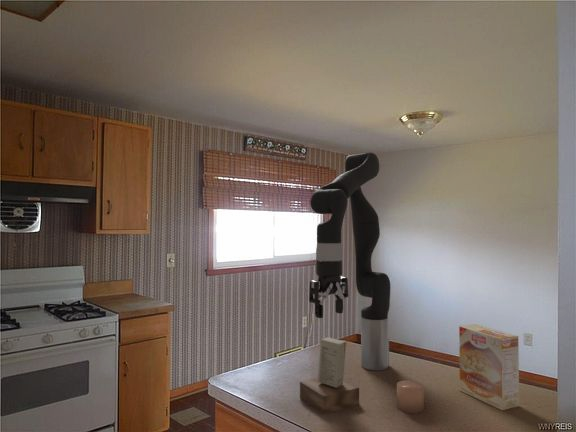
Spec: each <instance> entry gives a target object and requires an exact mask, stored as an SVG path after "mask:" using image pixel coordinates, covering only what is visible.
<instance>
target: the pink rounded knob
mask: <svg viewBox="0 0 576 432" xmlns="http://www.w3.org/2000/svg"><path fill="white" fill-rule="evenodd" d="M424 389H425V388H424V385H423V384H421V383H420V382H418V381H414V380H401V381H398V382H397V383H396V407H397V408H398V410H400V411H401V412H405V413H407V414H419V413H422V412H424V410H425V408H424V407H425V406H424V405H425V404H424V403H425V402H424V400H425V397H424V392H425V391H424Z"/></svg>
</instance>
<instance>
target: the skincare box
mask: <svg viewBox="0 0 576 432" xmlns="http://www.w3.org/2000/svg"><path fill="white" fill-rule="evenodd" d="M346 348H347V341H345V340H341V339H337V338H334V337H330V336H328V337H324V338H322V339H320V349H319V361H318V375H317V378H318V382H320V383H323V384H326V385H329V386H332V387H335V388H337V387H339V386H340V385H342V384H343V379H344V376H345V375H344V374H345V362H346V361H345V360H346V350H347V349H346Z"/></svg>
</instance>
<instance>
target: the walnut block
mask: <svg viewBox="0 0 576 432" xmlns="http://www.w3.org/2000/svg"><path fill="white" fill-rule="evenodd" d="M299 398H301V399H302V400H303V401H305V402H306V403H307V402H308V403H307V404H309V405H310V406H312V407H313V408H315V409H316V410H318V411H319V413H320V412H321V413H322V414H324V415H325V414H328V413H332V412H335V411H339V410H343V409H346V408H350V407H353V406H357V405H359V404H360V387H359V386H356V385H355V384H353V383H351V382H349V381H347V380H345V379H344V378H343V384H342V385H340V386H339V387H337V388H335V387H332V386H329V385H326V384H323V383H320V382H318V377H316V378H315V377H314V378H310V379H305V380H301V381H299Z"/></svg>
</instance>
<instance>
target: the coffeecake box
mask: <svg viewBox="0 0 576 432" xmlns="http://www.w3.org/2000/svg"><path fill="white" fill-rule="evenodd" d="M458 328H459V329H458V331H459V343H458V344H459V347H458V348H459V391H461V392H463V393H465V394H466V395H469V396H471V397H473V398H475V399H477V400H479V401H481V402H483V403H486V404H488V405H490V406H492V407H494V408H496V409H498V410H501V411H506V410H509V409H513V408H518V407H520V379H519V378H520V375H519V374H520V373H519V372H520V368H519V366H520V362H519V359H520V358H519V357H520V353H519V335H515V334H512V333H507V332H504V331H502V330H501V331H500V330H497V329H493V328H489V327H487V326H483V325H479V324H474V323H473V324H468V325H467V324H465V325H464V324H463V325H459V326H458Z"/></svg>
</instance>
